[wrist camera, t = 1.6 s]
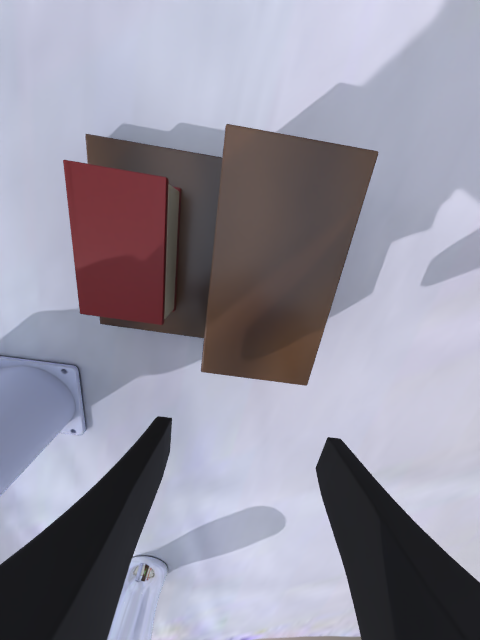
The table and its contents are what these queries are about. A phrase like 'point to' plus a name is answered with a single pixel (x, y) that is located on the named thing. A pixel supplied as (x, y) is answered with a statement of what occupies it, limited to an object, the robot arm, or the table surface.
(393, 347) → the table surface
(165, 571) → the beer glass
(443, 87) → the table surface
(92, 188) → the red hardcover book
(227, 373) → the book rack
